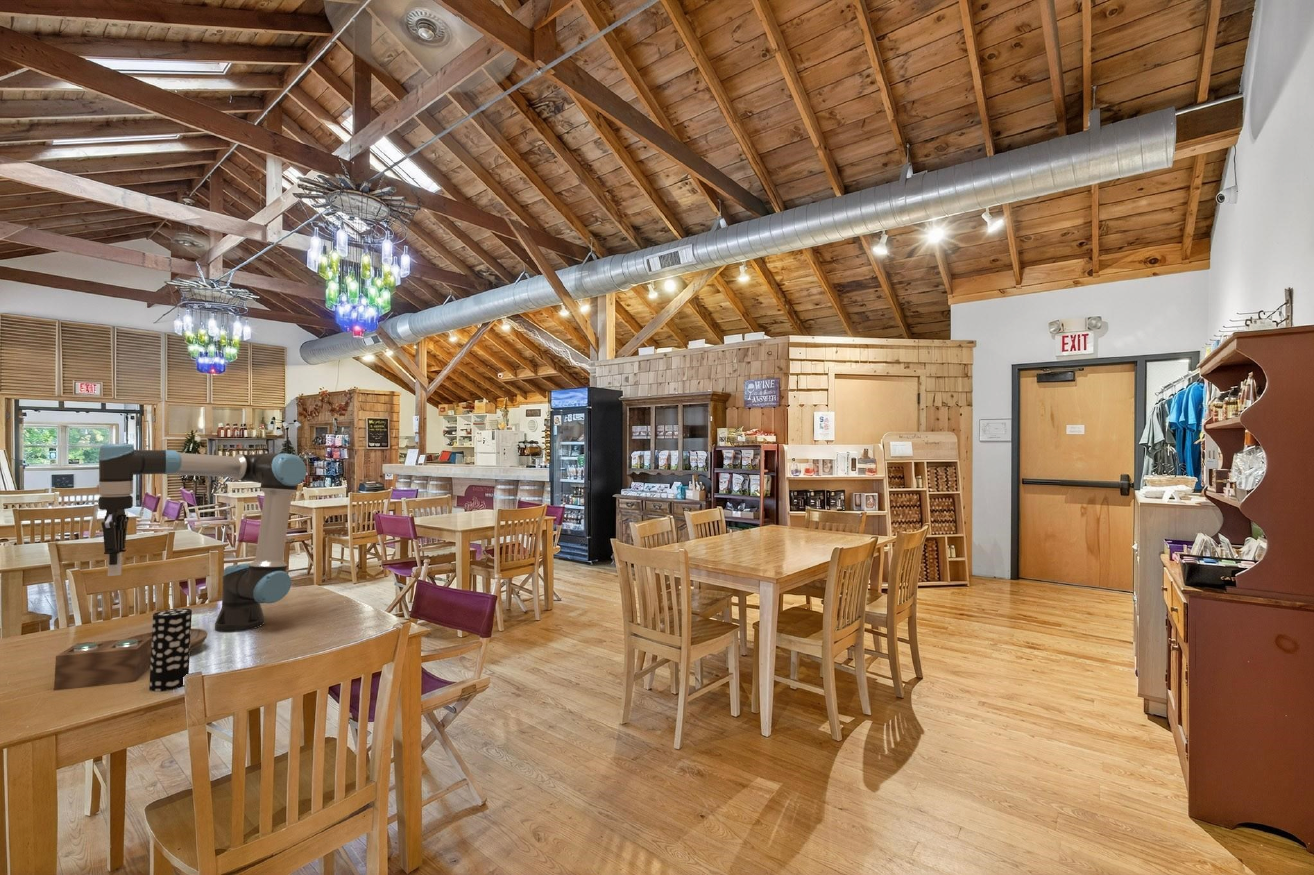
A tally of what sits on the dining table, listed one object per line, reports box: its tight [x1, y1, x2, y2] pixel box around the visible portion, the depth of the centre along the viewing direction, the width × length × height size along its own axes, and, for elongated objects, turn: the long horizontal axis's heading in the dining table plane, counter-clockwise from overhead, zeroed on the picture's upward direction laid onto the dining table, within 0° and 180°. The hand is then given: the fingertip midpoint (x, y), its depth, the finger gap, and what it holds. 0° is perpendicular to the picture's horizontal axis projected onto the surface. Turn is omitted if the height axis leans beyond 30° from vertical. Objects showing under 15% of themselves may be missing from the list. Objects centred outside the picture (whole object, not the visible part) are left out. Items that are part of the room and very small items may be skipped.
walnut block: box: [53, 637, 152, 691], centre depth 167 cm, size 17×12×9 cm
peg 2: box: [116, 640, 138, 648], centre depth 169 cm, size 5×5×8 cm
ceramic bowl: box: [125, 627, 208, 651], centre depth 188 cm, size 23×24×5 cm
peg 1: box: [74, 642, 98, 651], centre depth 165 cm, size 5×5×8 cm
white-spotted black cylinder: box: [148, 608, 193, 692], centre depth 163 cm, size 8×8×20 cm
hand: (114, 575), depth 175 cm, fingers closed
